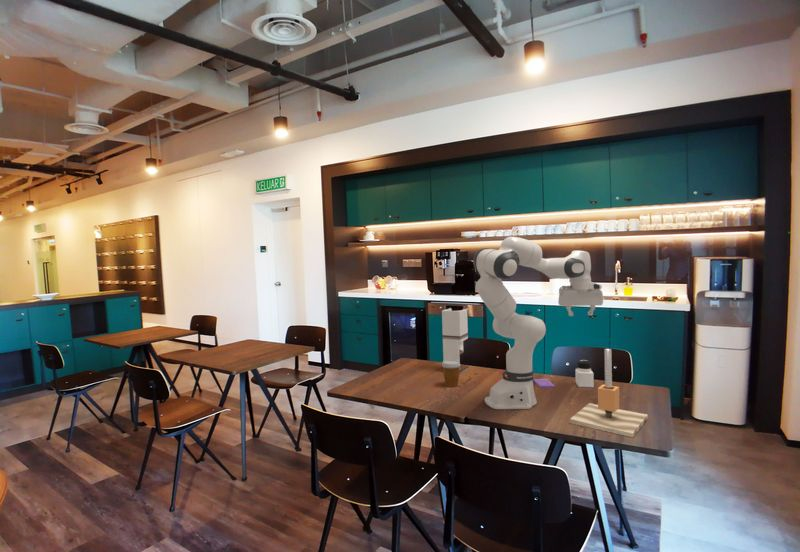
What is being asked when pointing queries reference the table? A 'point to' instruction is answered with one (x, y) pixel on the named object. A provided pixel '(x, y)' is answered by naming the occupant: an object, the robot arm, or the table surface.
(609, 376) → the steel pipe
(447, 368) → the disposable coffee cup
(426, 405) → the table surface
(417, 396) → the table surface
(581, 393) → the table surface
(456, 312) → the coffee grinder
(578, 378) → the medicine bottle
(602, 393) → the sleeve
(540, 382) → the sponges
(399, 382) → the table surface
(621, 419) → the pipe stand
